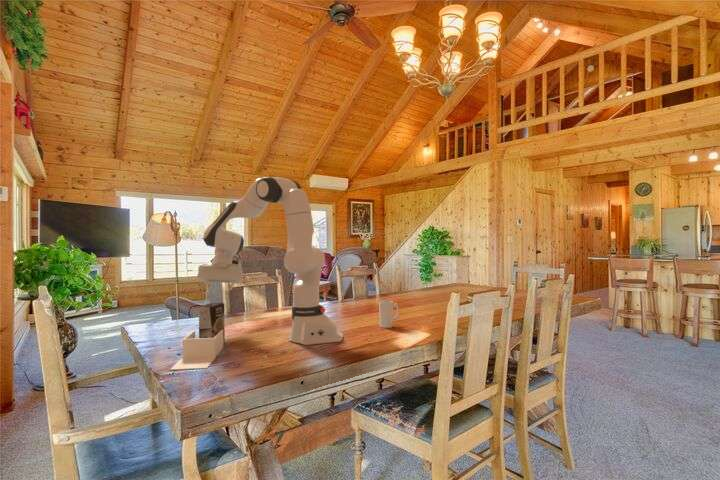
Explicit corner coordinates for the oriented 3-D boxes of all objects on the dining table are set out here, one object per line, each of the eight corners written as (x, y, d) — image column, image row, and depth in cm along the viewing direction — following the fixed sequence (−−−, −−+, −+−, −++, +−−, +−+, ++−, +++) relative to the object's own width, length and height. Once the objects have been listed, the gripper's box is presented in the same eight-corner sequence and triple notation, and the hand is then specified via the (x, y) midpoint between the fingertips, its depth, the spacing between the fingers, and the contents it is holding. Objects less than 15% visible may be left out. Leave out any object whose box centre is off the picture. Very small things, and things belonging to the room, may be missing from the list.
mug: (381, 328, 183) (381, 302, 182) (377, 325, 189) (377, 300, 189) (401, 327, 185) (401, 301, 185) (396, 324, 192) (396, 299, 192)
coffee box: (213, 347, 155) (212, 306, 154) (198, 346, 156) (197, 306, 156) (225, 341, 164) (224, 302, 163) (211, 340, 165) (211, 302, 165)
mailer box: (224, 347, 155) (223, 329, 155) (207, 368, 130) (206, 347, 130) (193, 348, 153) (192, 330, 153) (169, 370, 129) (169, 349, 129)
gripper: (198, 259, 183) (194, 283, 174) (244, 262, 188) (242, 285, 179) (199, 267, 187) (195, 291, 178) (243, 270, 193) (241, 293, 184)
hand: (219, 288), depth 179 cm, fingers open, 8 cm apart
